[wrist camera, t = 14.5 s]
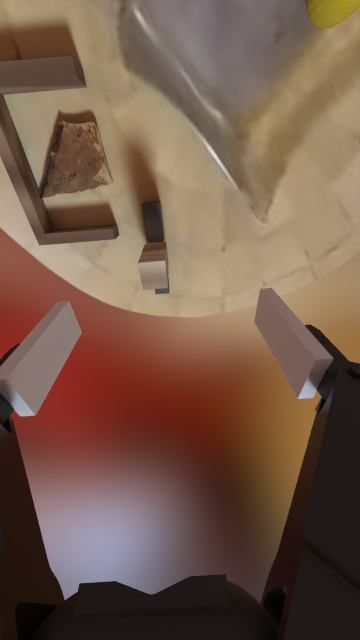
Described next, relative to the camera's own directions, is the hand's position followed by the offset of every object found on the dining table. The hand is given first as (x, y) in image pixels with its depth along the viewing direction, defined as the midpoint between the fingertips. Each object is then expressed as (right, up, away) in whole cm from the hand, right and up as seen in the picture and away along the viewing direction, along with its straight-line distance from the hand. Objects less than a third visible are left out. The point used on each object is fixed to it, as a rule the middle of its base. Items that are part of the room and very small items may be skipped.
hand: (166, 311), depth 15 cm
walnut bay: (-15, +20, +14) cm, 29 cm away
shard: (-13, +20, +15) cm, 28 cm away
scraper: (-3, +12, +21) cm, 24 cm away
